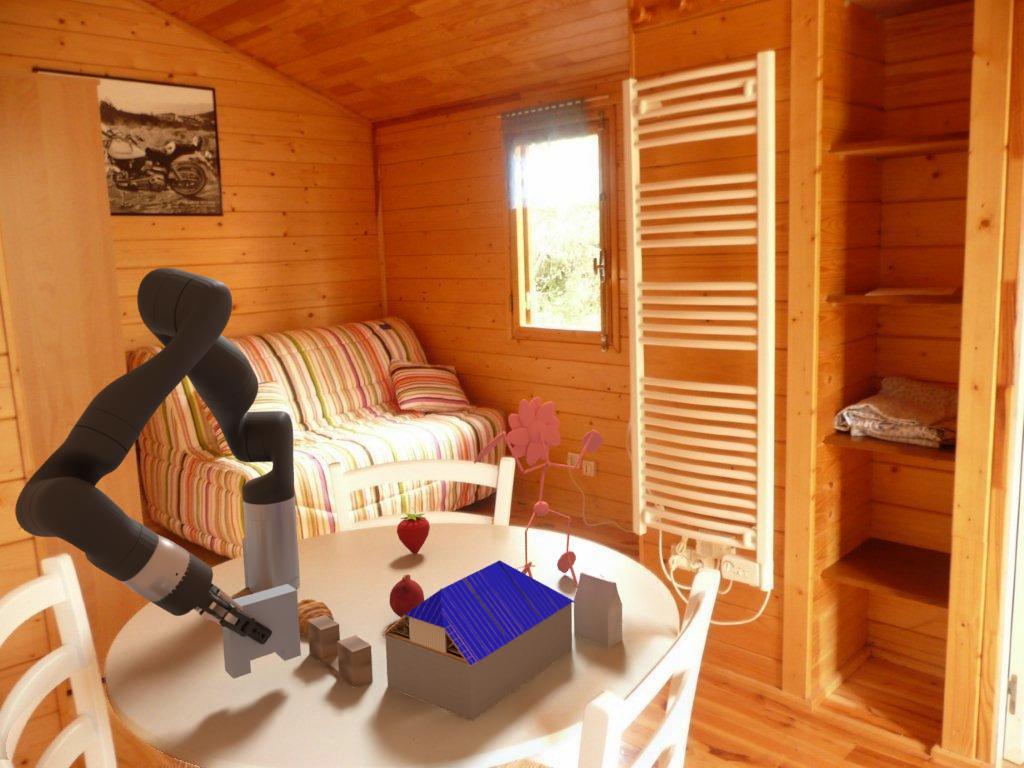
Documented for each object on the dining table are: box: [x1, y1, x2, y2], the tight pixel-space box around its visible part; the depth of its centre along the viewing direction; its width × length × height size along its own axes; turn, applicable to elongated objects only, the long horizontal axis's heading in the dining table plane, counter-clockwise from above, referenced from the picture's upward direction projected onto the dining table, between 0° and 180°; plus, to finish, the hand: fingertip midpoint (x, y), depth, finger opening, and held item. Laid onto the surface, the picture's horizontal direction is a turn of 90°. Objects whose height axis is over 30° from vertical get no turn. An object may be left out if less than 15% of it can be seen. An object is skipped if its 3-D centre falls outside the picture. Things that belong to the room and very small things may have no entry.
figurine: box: [473, 396, 605, 586], centre depth 155 cm, size 15×26×35 cm, turn 124°
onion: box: [389, 573, 425, 618], centre depth 141 cm, size 6×6×8 cm
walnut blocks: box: [307, 615, 374, 689], centre depth 125 cm, size 14×3×6 cm, turn 40°
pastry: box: [298, 598, 335, 638], centre depth 139 cm, size 9×7×4 cm
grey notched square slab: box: [221, 584, 302, 679], centre depth 119 cm, size 10×3×10 cm, turn 130°
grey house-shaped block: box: [573, 572, 623, 649], centre depth 133 cm, size 4×7×10 cm, turn 47°
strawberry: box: [396, 508, 431, 555], centre depth 172 cm, size 6×8×10 cm
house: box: [382, 559, 574, 722], centre depth 124 cm, size 25×16×16 cm, turn 143°
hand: (261, 633), depth 119 cm, fingers closed on grey notched square slab, 3 cm apart
